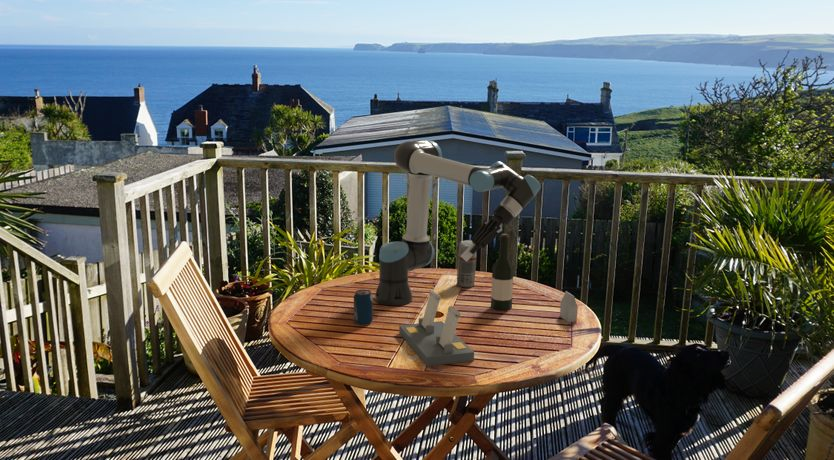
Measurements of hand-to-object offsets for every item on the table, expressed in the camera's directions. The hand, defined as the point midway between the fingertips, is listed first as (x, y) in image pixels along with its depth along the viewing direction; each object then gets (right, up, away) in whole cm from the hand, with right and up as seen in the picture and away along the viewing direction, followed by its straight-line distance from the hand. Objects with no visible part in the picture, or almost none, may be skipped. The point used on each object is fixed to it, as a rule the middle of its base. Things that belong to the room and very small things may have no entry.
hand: (463, 258), depth 246 cm
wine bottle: (+17, -21, +26) cm, 38 cm away
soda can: (-37, -24, +6) cm, 45 cm away
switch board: (-11, -29, -15) cm, 34 cm away
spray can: (+5, -14, +55) cm, 57 cm away
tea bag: (+41, -24, +15) cm, 50 cm away
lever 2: (-8, -27, -24) cm, 37 cm away
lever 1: (-14, -24, -7) cm, 28 cm away
